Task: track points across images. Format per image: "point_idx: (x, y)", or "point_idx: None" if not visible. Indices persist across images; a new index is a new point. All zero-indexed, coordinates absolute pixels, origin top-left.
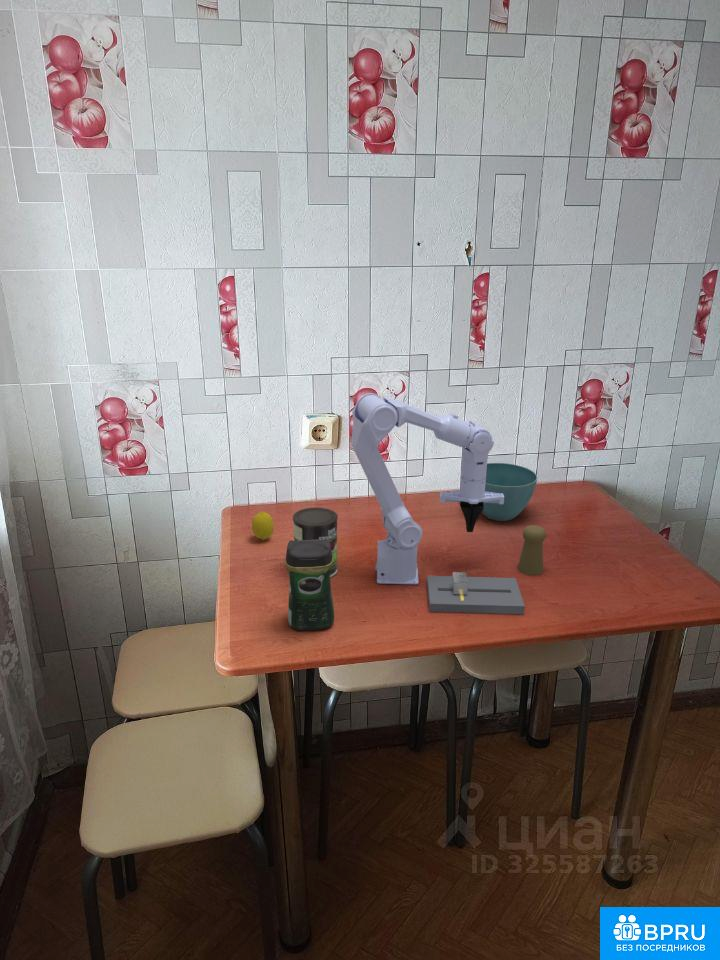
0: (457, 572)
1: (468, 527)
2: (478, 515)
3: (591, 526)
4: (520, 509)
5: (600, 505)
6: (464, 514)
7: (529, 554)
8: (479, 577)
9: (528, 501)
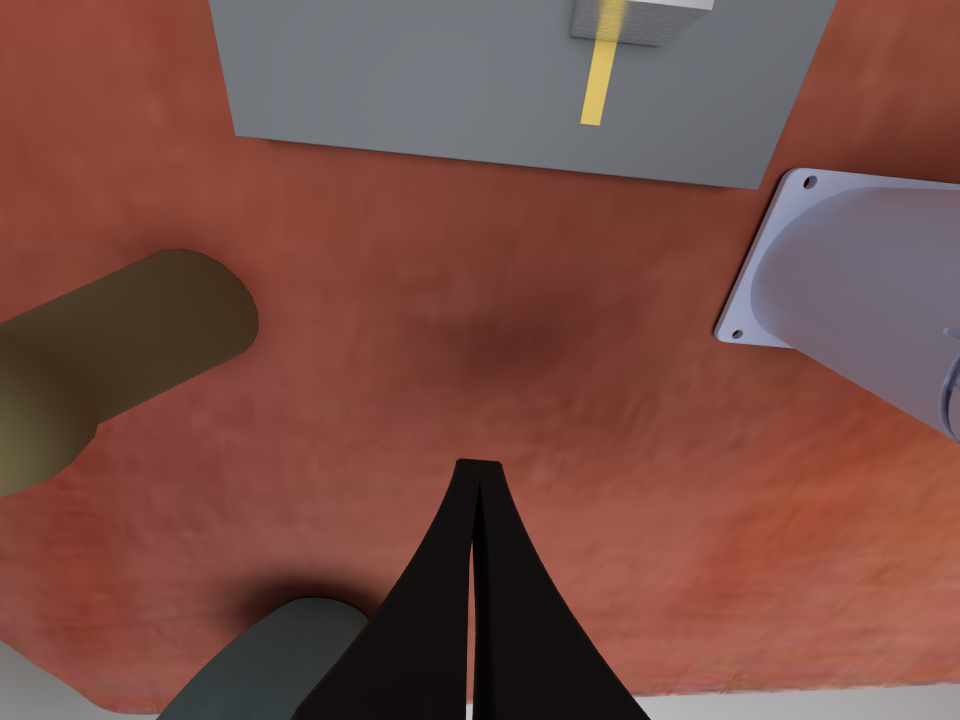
0: (670, 1)
1: (496, 489)
2: (387, 613)
3: (33, 563)
4: (234, 641)
5: (41, 643)
6: (581, 638)
7: (117, 304)
8: (455, 152)
9: (192, 678)
